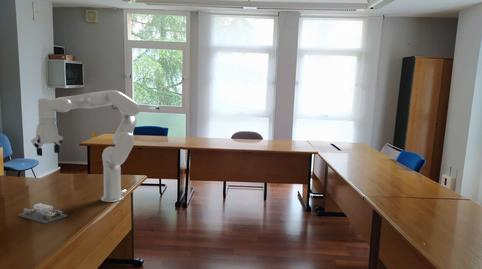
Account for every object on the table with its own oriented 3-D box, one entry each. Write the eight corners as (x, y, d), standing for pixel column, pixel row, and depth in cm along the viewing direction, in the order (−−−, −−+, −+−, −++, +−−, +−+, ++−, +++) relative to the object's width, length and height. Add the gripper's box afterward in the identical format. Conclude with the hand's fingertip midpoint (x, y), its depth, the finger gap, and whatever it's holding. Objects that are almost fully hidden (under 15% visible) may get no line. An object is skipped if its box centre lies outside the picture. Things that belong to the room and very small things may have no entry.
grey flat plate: (40, 209, 184) (40, 207, 184) (67, 216, 175) (67, 215, 175) (18, 215, 174) (18, 214, 174) (45, 223, 165) (45, 222, 164)
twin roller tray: (37, 209, 182) (37, 204, 181) (62, 216, 173) (62, 211, 173) (23, 213, 175) (23, 208, 175) (48, 220, 167) (48, 215, 167)
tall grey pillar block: (40, 212, 178) (40, 203, 177) (53, 216, 173) (52, 206, 173) (33, 214, 174) (33, 204, 174) (46, 218, 170) (46, 208, 169)
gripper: (57, 120, 189) (58, 151, 191) (26, 122, 173) (27, 156, 175) (66, 121, 185) (67, 152, 187) (35, 123, 170) (37, 157, 172)
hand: (48, 154), depth 181 cm, fingers open, 9 cm apart
